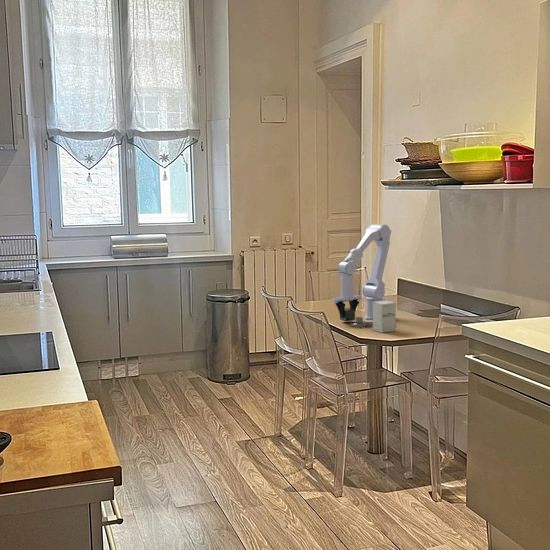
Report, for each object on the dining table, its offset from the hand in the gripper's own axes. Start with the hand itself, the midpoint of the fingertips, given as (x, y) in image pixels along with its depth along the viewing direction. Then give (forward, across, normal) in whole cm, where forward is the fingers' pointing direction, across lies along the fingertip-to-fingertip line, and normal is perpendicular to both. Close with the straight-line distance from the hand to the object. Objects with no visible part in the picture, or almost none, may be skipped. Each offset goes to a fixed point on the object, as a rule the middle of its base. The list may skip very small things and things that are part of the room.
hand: (347, 316), depth 323 cm
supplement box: (+3, +4, -23) cm, 24 cm away
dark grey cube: (+1, 0, 0) cm, 1 cm away
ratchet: (+3, +5, -12) cm, 14 cm away
